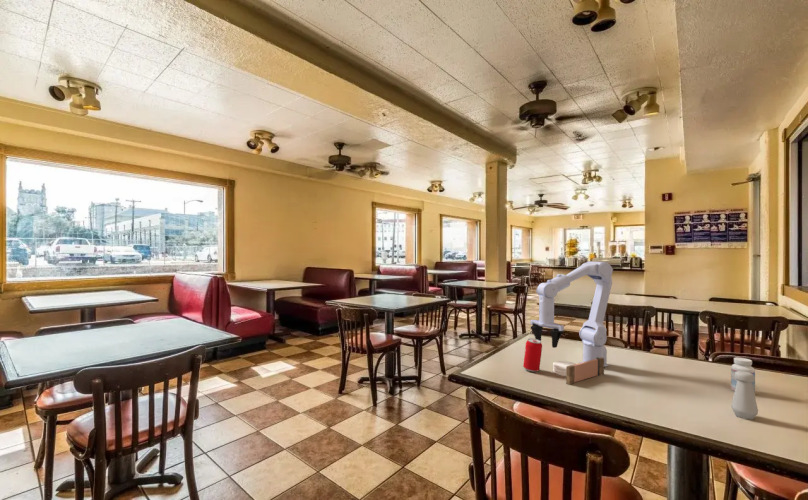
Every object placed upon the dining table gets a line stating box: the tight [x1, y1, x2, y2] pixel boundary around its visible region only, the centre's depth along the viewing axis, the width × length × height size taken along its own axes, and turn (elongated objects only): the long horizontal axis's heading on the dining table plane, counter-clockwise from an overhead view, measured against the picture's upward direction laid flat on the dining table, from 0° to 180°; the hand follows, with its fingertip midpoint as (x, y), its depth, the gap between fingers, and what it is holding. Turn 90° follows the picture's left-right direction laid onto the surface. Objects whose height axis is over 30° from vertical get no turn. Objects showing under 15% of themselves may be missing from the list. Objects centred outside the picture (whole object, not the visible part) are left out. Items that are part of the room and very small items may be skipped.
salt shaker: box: [730, 371, 759, 421], centre depth 105 cm, size 6×6×13 cm
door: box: [573, 359, 598, 383], centre depth 135 cm, size 15×2×6 cm, turn 121°
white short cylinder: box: [552, 360, 577, 377], centre depth 142 cm, size 10×10×4 cm
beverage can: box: [522, 337, 543, 373], centre depth 144 cm, size 6×6×12 cm
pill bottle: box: [730, 357, 756, 394], centre depth 124 cm, size 6×6×11 cm
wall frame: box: [565, 357, 605, 386], centre depth 135 cm, size 22×1×7 cm, turn 121°
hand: (546, 345), depth 147 cm, fingers open, 7 cm apart
